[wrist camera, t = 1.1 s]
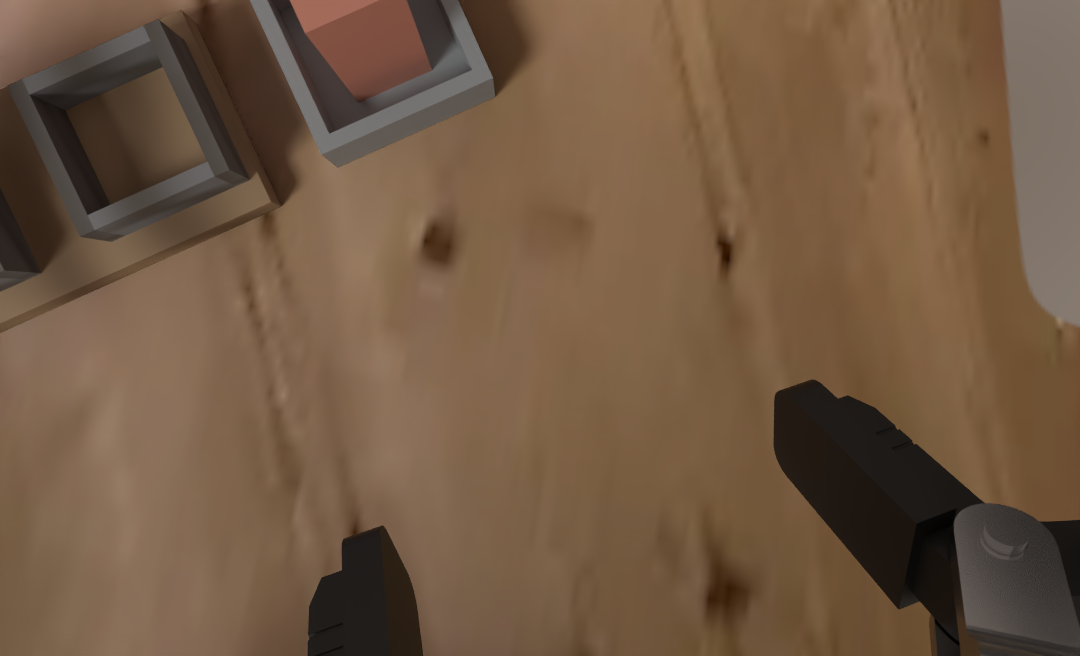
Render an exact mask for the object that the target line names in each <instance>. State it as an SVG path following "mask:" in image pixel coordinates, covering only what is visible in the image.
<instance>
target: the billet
mask: <svg viewBox="0 0 1080 656" xmlns="http://www.w3.org/2000/svg"><path fill="white" fill-rule="evenodd" d="M290 2H291V4H292V6H293V8H294V10H295V13H296V15H297V17H298V19H299V21H300V23H301V26H302V28H303V30H304V32H305V34H306V35H307V36H308V38H309V39H310V40H311V42H312V43H313V44H314V45H315V47H316V48H317V49H318V51H319V52H320V53H321V55H322V56H323V57H324V58H325V60H326V61H327V62H328V64H329V65H330V66H331V67H332V69H333V70H334V71H335V73H336V74H337V75H338V76H339V78H340V79H341V80H342V82H343V83H344V84H345V86H346V87H347V88H348V89H349V91H350V92H351V93H352V95H353V96H354V97H355V98H356V100H357V101H358V102H359V103H360V102H362V101H364V100H367V99H369V98H371V97H373V96H376V95H378V94H380V93H382V92H385V91H387V90H389V89H391V88H394V87H396V86H398V85H400V84H403V83H405V82H407V81H409V80H411V79H414V78H416V77H418V76H420V75H423V74H425V73H427V72H429V71H432V68H431V66H430V63H429V60H428V57H427V55H426V52H425V49H424V46H423V44H422V41H421V38H420V35H419V33H418V30H417V27H416V24H415V22H414V19H413V16H412V13H411V11H410V8H409V5H408V2H407V0H290Z"/></svg>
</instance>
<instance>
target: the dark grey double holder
mask: <svg viewBox="0 0 1080 656" xmlns="http://www.w3.org/2000/svg"><path fill="white" fill-rule="evenodd" d="M279 207H281V204H280V202H279V200H278V198H277V196H276V194H275V192H274V189H273V187H272V185H271V183H270V181H269V179H268V177H267V175H266V172H265V170H264V168H263V166H262V164H261V162H260V160H259V157H258V155H257V153H256V151H255V149H254V147H253V145H252V142H251V140H250V138H249V136H248V134H247V132H246V130H245V128H244V125H243V123H242V121H241V119H240V117H239V115H238V113H237V110H236V108H235V106H234V104H233V102H232V100H231V98H230V96H229V93H228V91H227V89H226V87H225V85H224V83H223V81H222V78H221V76H220V74H219V72H218V70H217V68H216V66H215V64H214V61H213V59H212V57H211V55H210V53H209V51H208V49H207V46H206V44H205V42H204V40H203V38H202V36H201V34H200V32H199V29H198V27H197V25H196V23H195V22H194V21H193V20H192V19H191V18H190V17H188V16H187V15H186V14H185V13H184V12H183V11H182V10H180V11H178V12H175V13H173V14H171V15H169V16H166V17H164V18H162V19H160V20H159V19H157V20H155V21H153V22H151V23H148V24H146V25H144V26H142V27H139V28H137V29H135V30H133V31H130V32H128V33H126V34H124V35H121V36H119V37H117V38H114V39H112V40H110V41H108V42H105V43H103V44H101V45H99V46H96V47H94V48H92V49H90V50H87V51H85V52H83V53H81V54H78V55H76V56H74V57H71V58H69V59H67V60H65V61H62V62H60V63H58V64H56V65H53V66H51V67H49V68H47V69H44V70H42V71H40V72H38V73H35V74H33V75H31V76H28V77H26V78H24V79H22V80H19V81H17V82H15V83H13V84H10V85H8V86H7V87H6V88H3V89H1V90H0V333H1V332H3V331H5V330H7V329H9V328H12V327H14V326H16V325H18V324H21V323H23V322H25V321H27V320H30V319H32V318H34V317H36V316H38V315H41V314H43V313H45V312H47V311H50V310H52V309H54V308H56V307H58V306H61V305H63V304H65V303H67V302H70V301H72V300H74V299H76V298H79V297H81V296H83V295H85V294H87V293H90V292H92V291H94V290H96V289H99V288H101V287H103V286H105V285H107V284H110V283H112V282H114V281H116V280H119V279H121V278H123V277H125V276H128V275H130V274H132V273H134V272H136V271H139V270H141V269H143V268H145V267H148V266H150V265H152V264H154V263H156V262H159V261H161V260H163V259H165V258H168V257H170V256H172V255H174V254H177V253H179V252H181V251H183V250H185V249H188V248H190V247H192V246H194V245H197V244H199V243H201V242H203V241H205V240H208V239H210V238H212V237H214V236H217V235H219V234H221V233H223V232H226V231H228V230H230V229H232V228H234V227H237V226H239V225H241V224H243V223H246V222H248V221H250V220H252V219H254V218H257V217H259V216H261V215H263V214H266V213H268V212H270V211H272V210H275V209H277V208H279Z"/></svg>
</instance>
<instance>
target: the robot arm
mask: <svg viewBox="0 0 1080 656" xmlns="http://www.w3.org/2000/svg"><path fill="white" fill-rule="evenodd" d="M774 451H775V455H776V458H777V460H778V463H779V465H780V467H781V469H782V470H783V472H784V473H785V475H786V476H787V477H788V478H789V480H790V481H791V482H792V483H793V484H794V485H795V487H796V488H797V489H798V490H799V491H800V493H801V494H802V495H803V496H804V497H805V499H806V500H807V501H808V502H809V503H810V505H811V506H812V507H813V508H814V509H815V510H816V512H817V513H818V514H819V515H820V516H821V518H822V519H823V520H824V521H825V522H826V524H827V525H828V526H829V527H830V528H831V530H832V531H833V532H834V533H835V534H836V536H837V537H838V538H839V539H840V540H841V541H842V543H843V544H844V545H845V546H846V547H847V549H848V550H849V551H850V552H851V553H852V555H853V556H854V557H855V558H856V559H857V561H858V562H859V563H860V564H861V565H862V567H863V568H864V569H865V570H866V571H867V572H868V574H869V575H870V576H871V577H872V578H873V580H874V581H875V582H876V583H877V584H878V586H879V587H880V588H881V589H882V590H883V592H884V593H885V594H886V595H887V596H888V597H889V599H890V600H891V601H892V602H893V603H894V605H895V606H896V607H897V608H898V609H901V608H904V607H906V606H909V605H911V604H914V603H916V602H919V601H920V602H921V603H922V604H923V605H924V606H925V608H926V609H927V610H928V611H929V612H930V613H931V614H930V618H929V628H930V640H931V652H932V656H1080V520H1072V521H1053V522H1039V521H1038V520H1036V519H1035V518H1033V517H1032V516H1030V515H1028V514H1026V513H1025V512H1022V511H1020V510H1018V509H1015V508H1012V507H1009V506H1005V505H1000V504H991V503H984V502H983V501H982V500H980V499H979V498H978V497H977V496H975V495H974V494H973V493H972V492H971V491H970V490H969V489H967V488H966V487H965V486H964V485H963V484H962V483H961V482H959V481H958V480H957V479H956V478H955V477H954V476H953V475H951V474H950V473H949V472H948V471H947V470H946V469H944V468H943V467H942V466H941V465H940V464H939V463H938V462H936V461H935V460H934V459H933V458H932V457H931V456H930V455H928V454H927V453H926V452H925V451H924V450H923V449H922V448H920V447H919V446H918V445H917V444H915V445H914V444H913V442H912V440H911V439H910V438H909V437H908V436H907V435H905V434H904V433H903V432H902V431H901V430H900V429H899V430H897V429H896V427H895V425H894V424H893V423H892V422H891V421H889V420H888V419H887V418H886V417H885V416H884V415H883V414H881V413H880V412H879V411H878V410H877V409H876V408H874V407H872V406H870V405H868V404H865V403H863V402H861V401H859V400H857V399H854V398H852V397H850V396H848V395H847V396H845V397H842V398H839V399H838V398H836V397H835V396H834V395H833V394H832V393H831V392H830V391H829V390H828V389H827V388H826V387H824V386H823V385H822V384H821V383H820V382H818V381H816V380H809V381H806V382H803V383H800V384H797V385H794V386H791V387H789V388H786V389H783V390H780V391H778V392H777V393H776V394H775V400H774ZM308 635H309V640H308V656H423V650H422V643H421V635H420V627H419V619H418V611H417V604H416V599H415V594H414V590H413V587H412V583H411V580H410V578H409V575H408V573H407V571H406V569H405V567H404V565H403V563H402V561H401V559H400V556H399V554H398V552H397V550H396V548H395V546H394V544H393V542H392V540H391V538H390V536H389V534H388V532H387V530H386V529H385V527H384V526H380V527H377V528H374V529H371V530H368V531H365V532H362V533H359V534H356V535H353V536H350V537H348V538H345V539H343V542H342V571H339V572H336V573H334V574H331V575H328V576H325V577H322V578H321V580H320V583H319V585H318V587H317V590H316V592H315V594H314V597H313V599H312V601H311V604H310V606H309V629H308Z"/></svg>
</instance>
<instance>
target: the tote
mask: <svg viewBox="0 0 1080 656" xmlns="http://www.w3.org/2000/svg"><path fill="white" fill-rule="evenodd" d="M250 2H251V4H252V6H253V8H254V10H255V13H256V15H257V17H258V19H259V21H260V23H261V26H262V28H263V30H264V32H265V34H266V36H267V38H268V41H269V43H270V45H271V47H272V49H273V51H274V54H275V56H276V58H277V60H278V62H279V64H280V66H281V69H282V71H283V73H284V75H285V77H286V79H287V82H288V84H289V86H290V88H291V90H292V92H293V94H294V97H295V99H296V101H297V103H298V105H299V107H300V110H301V112H302V114H303V116H304V118H305V120H306V122H307V125H308V127H309V129H310V131H311V133H312V135H313V137H314V140H315V142H316V144H317V146H318V148H319V150H320V153H321V155H323V156H324V157H325V158H326V159H328V160H329V161H330V162H331V163H333V164H334V165H335V166H337V167H340V166H342V165H345V164H347V163H349V162H351V161H354V160H356V159H358V158H360V157H362V156H365V155H367V154H369V153H371V152H374V151H376V150H378V149H380V148H383V147H385V146H387V145H389V144H391V143H394V142H396V141H398V140H400V139H403V138H405V137H407V136H409V135H412V134H414V133H416V132H418V131H420V130H423V129H425V128H427V127H429V126H432V125H434V124H436V123H438V122H440V121H443V120H445V119H447V118H449V117H452V116H454V115H456V114H458V113H461V112H463V111H465V110H467V109H469V108H472V107H474V106H476V105H478V104H481V103H483V102H485V101H487V100H490V99H492V98H494V97H495V91H494V82H493V77H492V74H491V72H490V70H489V68H488V65H487V63H486V61H485V59H484V57H483V54H482V52H481V50H480V48H479V46H478V43H477V41H476V39H475V37H474V34H473V32H472V30H471V28H470V26H469V23H468V21H467V19H466V17H465V14H464V12H463V10H462V8H461V6H460V3H459V1H458V0H407V2H408V5H409V8H410V11H411V13H412V16H413V19H414V22H415V24H416V27H417V30H418V33H419V35H420V38H421V41H422V44H423V46H424V49H425V52H426V55H427V57H428V60H429V63H430V66H431V68H432V71H429V72H427V73H425V74H423V75H420V76H418V77H416V78H414V79H411V80H409V81H407V82H405V83H403V84H400V85H398V86H396V87H394V88H391V89H389V90H387V91H385V92H382V93H380V94H378V95H376V96H373V97H371V98H369V99H367V100H364V101H362V102H360V103H359V102H358V101H357V100H356V98H355V97H354V96H353V95H352V93H351V92H350V91H349V89H348V88H347V87H346V86H345V84H344V83H343V82H342V80H341V79H340V78H339V76H338V75H337V74H336V73H335V71H334V70H333V69H332V67H331V66H330V65H329V64H328V62H327V61H326V60H325V58H324V57H323V56H322V55H321V53H320V52H319V51H318V49H317V48H316V47H315V45H314V44H313V43H312V42H311V40H310V39H309V38H308V36H307V35H306V34H305V32H304V30H303V28H302V26H301V23H300V21H299V19H298V17H297V15H296V13H295V10H294V8H293V6H292V4H291V2H290V0H250Z"/></svg>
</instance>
